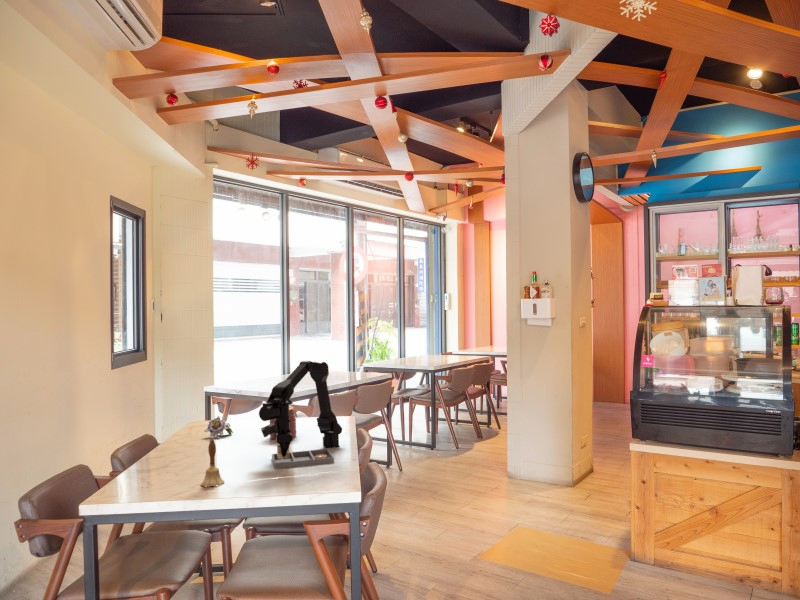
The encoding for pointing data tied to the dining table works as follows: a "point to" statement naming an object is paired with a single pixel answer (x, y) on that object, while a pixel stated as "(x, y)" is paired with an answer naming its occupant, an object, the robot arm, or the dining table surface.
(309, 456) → the organizer tray
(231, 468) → the dining table surface
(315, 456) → the peach egg shape
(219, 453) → the dining table surface
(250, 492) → the dining table surface
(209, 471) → the hand bell
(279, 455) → the letter cube
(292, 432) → the canister
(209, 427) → the passion flower
